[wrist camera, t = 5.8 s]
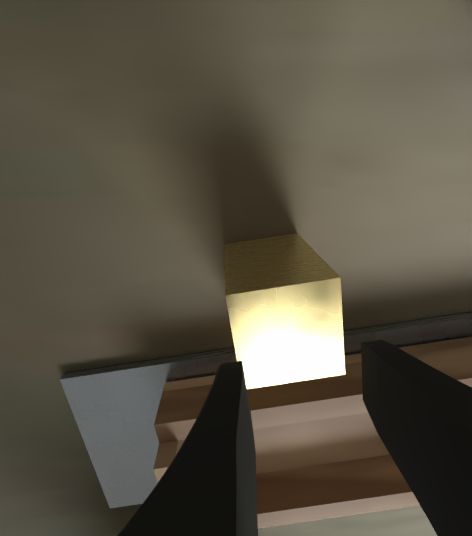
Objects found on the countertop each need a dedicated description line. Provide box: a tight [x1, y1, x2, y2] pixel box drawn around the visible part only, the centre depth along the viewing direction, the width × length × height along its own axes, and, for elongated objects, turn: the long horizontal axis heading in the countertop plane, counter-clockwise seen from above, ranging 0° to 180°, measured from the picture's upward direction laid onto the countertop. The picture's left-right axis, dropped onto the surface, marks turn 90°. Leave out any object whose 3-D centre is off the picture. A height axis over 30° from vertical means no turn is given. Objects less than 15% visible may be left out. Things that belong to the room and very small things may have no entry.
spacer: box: [224, 233, 345, 389], centre depth 15 cm, size 4×4×7 cm
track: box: [60, 312, 472, 508], centre depth 20 cm, size 11×29×3 cm, turn 99°
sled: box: [153, 337, 472, 529], centre depth 19 cm, size 9×20×5 cm, turn 98°
